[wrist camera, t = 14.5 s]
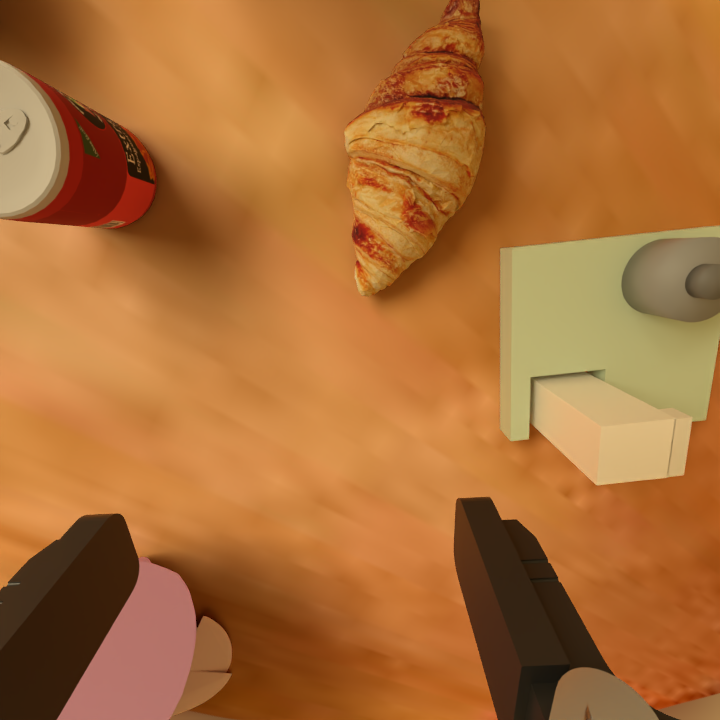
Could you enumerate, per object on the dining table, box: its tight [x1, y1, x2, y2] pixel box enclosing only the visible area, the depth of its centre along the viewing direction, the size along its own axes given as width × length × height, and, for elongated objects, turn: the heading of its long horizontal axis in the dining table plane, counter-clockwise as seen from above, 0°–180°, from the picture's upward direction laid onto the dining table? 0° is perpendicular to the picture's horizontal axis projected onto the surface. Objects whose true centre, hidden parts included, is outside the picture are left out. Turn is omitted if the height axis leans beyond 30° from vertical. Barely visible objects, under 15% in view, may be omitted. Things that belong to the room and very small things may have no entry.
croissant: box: [344, 0, 486, 296], centre depth 28 cm, size 21×10×8 cm, turn 162°
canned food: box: [0, 60, 156, 229], centre depth 25 cm, size 8×8×11 cm
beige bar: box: [529, 372, 693, 485], centre depth 31 cm, size 4×6×11 cm
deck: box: [500, 226, 720, 441], centre depth 31 cm, size 17×18×8 cm
